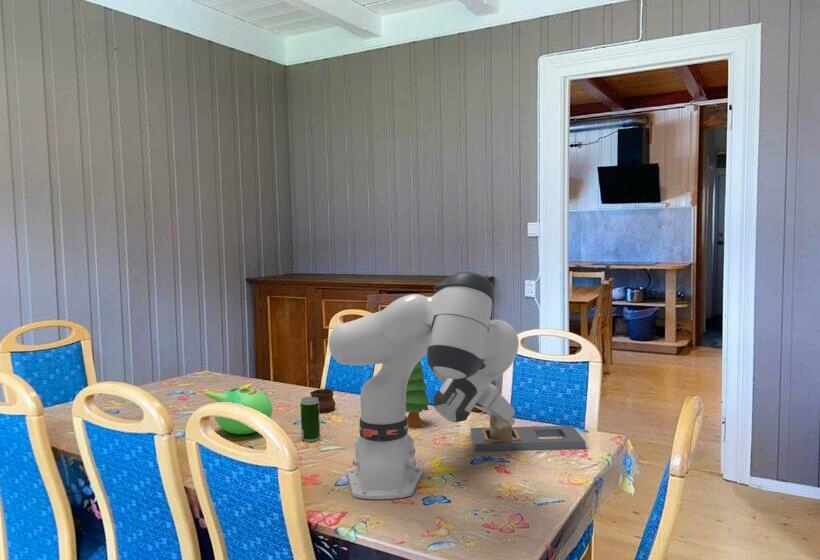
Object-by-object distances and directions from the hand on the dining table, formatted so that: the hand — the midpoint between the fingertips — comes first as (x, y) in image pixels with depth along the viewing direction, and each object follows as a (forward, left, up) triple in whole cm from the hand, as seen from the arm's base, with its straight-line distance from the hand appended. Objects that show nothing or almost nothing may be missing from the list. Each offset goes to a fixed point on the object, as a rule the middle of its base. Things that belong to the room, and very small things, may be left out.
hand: (502, 418), depth 178 cm
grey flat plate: (0, -6, -7) cm, 9 cm away
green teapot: (+13, +78, -7) cm, 79 cm away
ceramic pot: (+36, +56, -7) cm, 67 cm away
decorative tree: (+18, +25, -7) cm, 31 cm away
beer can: (+6, +56, -7) cm, 56 cm away
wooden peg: (0, +1, -7) cm, 7 cm away
